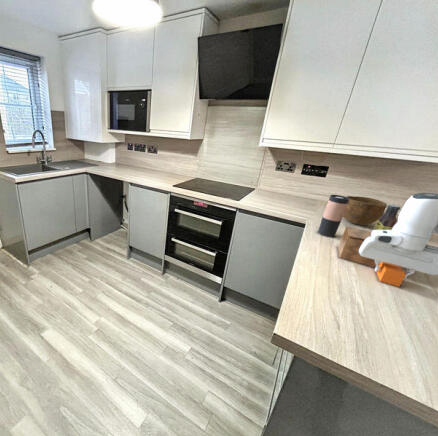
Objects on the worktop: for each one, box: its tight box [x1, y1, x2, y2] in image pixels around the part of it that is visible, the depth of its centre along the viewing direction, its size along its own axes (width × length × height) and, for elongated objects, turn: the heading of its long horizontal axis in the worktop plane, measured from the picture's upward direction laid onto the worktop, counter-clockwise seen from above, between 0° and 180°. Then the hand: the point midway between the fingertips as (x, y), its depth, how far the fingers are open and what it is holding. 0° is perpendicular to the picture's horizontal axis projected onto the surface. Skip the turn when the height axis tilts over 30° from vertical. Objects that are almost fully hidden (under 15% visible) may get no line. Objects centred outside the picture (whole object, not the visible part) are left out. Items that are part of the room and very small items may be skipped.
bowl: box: [343, 195, 388, 226], centre depth 137 cm, size 19×19×15 cm
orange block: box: [375, 262, 406, 288], centre depth 84 cm, size 5×8×5 cm, turn 144°
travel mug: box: [317, 194, 349, 238], centre depth 117 cm, size 8×8×20 cm
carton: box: [337, 226, 379, 269], centre depth 96 cm, size 17×13×10 cm
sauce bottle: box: [372, 203, 402, 231], centre depth 109 cm, size 6×6×20 cm
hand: (388, 274), depth 84 cm, fingers closed on orange block, 5 cm apart
